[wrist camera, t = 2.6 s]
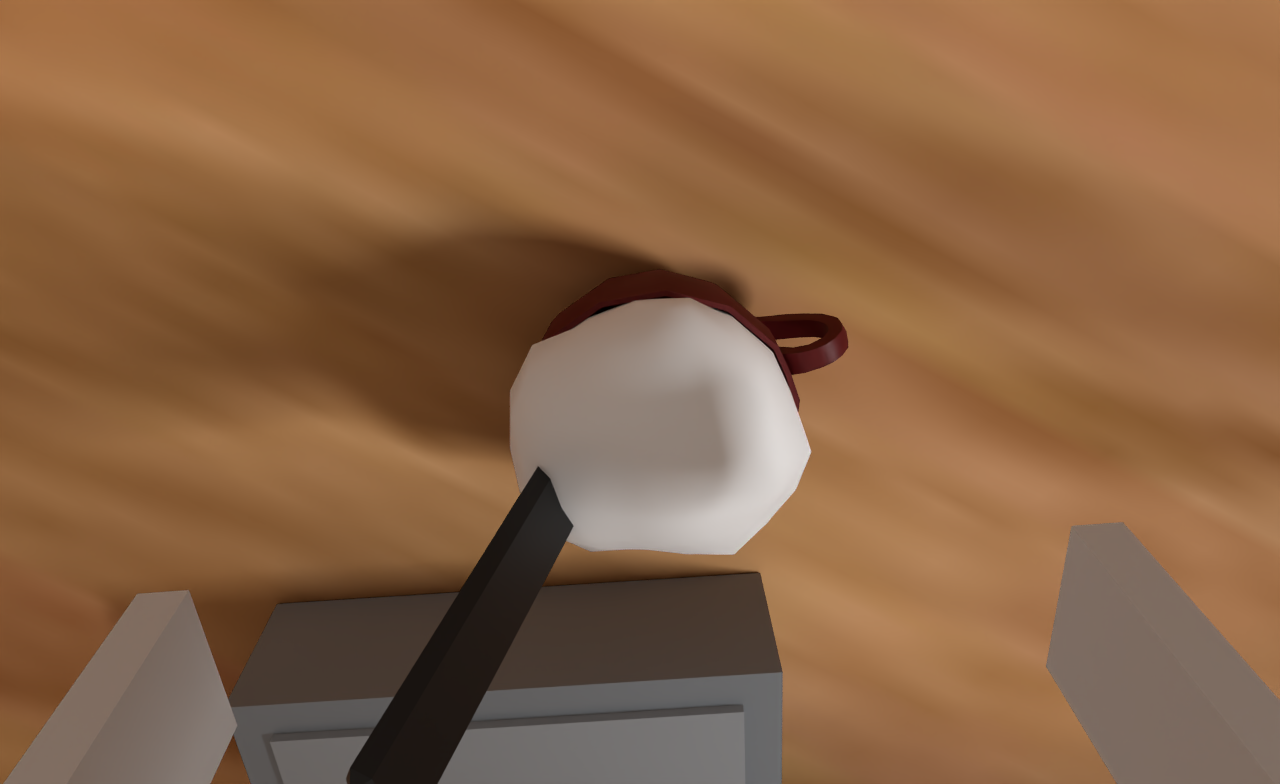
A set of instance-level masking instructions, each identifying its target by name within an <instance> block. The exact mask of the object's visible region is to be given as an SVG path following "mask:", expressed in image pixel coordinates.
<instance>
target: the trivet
mask: <svg viewBox="0 0 1280 784" xmlns="http://www.w3.org/2000/svg"><path fill="white" fill-rule="evenodd" d="M458 593H459V592H455V593H439V594H424V595H408V596H393V597H377V598H361V599H346V600H330V601H315V602H299V603H284V604H277V605H276V607H275V609H274V611H273V613H272V615H271V617H270V619H269V621H268V623H267V625H266V627H265V629H264V631H263V632H262V634H261V636H260V638H259V640H258V642H257V644H256V646H255V648H254V650H253V652H252V654H251V656H250V658H249V660H248V662H247V664H246V666H245V668H244V669H243V671H242V673H241V675H240V677H239V679H238V681H237V683H236V685H235V687H234V689H233V691H232V693H231V695H230V697H229V699H228V700H229V703H230V706H231V709H232V712H233V714H234V717H235V720H236V723H237V727H236V730H235V732H234V734H233V735H234V738H235V741H236V743H237V746H238V749H239V752H240V755H241V757H242V760H243V763H244V766H245V769H246V771H247V774H248V777H249V780H250V783H251V784H347V781H346V777H347V774H348V771H349V769H350V767H351V765H352V764H353V762H354V760H355V759H356V757H357V756H358V754H359V752H360V751H361V749H362V747H363V746H364V744H365V743H366V741H367V739H368V738H369V736H370V735H371V733H372V731H373V730H374V728H375V727H376V725H377V723H378V722H379V720H380V719H381V717H382V715H383V714H384V712H385V711H386V709H387V707H388V706H389V704H390V703H391V701H392V699H393V698H394V696H395V695H396V693H397V691H398V690H399V688H400V687H401V685H402V683H403V682H404V680H405V679H406V677H407V675H408V674H409V672H410V670H411V669H412V667H413V666H414V664H415V662H416V661H417V659H418V658H419V656H420V654H421V653H422V651H423V650H424V648H425V646H426V645H427V643H428V642H429V640H430V638H431V637H432V635H433V634H434V632H435V630H436V629H437V627H438V626H439V624H440V622H441V621H442V619H443V618H444V616H445V614H446V613H447V611H448V610H449V608H450V606H451V605H452V603H453V602H454V600H455V598H456V597H457V595H458ZM782 673H783V672H782V668H781V663H780V659H779V655H778V650H777V646H776V641H775V637H774V632H773V628H772V623H771V619H770V615H769V610H768V606H767V601H766V597H765V592H764V588H763V583H762V579H761V575H760V573H749V574H734V575H718V576H703V577H687V578H672V579H656V580H641V581H625V582H610V583H594V584H579V585H563V586H548V587H541V589H540V591H539V593H538V595H537V597H536V599H535V600H534V602H533V604H532V606H531V608H530V610H529V612H528V614H527V616H526V618H525V619H524V621H523V623H522V625H521V627H520V629H519V631H518V633H517V635H516V636H515V638H514V640H513V642H512V644H511V646H510V648H509V650H508V652H507V653H506V655H505V657H504V659H503V661H502V663H501V665H500V667H499V669H498V671H497V672H496V674H495V676H494V678H493V680H492V682H491V684H490V686H489V688H488V689H487V691H486V693H485V695H484V697H483V699H482V701H481V703H480V705H479V707H478V708H477V710H476V712H475V714H474V716H473V718H472V720H471V722H470V724H469V725H468V727H467V729H466V731H465V733H464V735H463V737H462V739H461V741H460V743H459V744H458V746H457V748H456V750H455V752H454V754H453V756H452V758H451V760H450V761H449V763H448V765H447V767H446V769H445V771H444V773H443V775H442V777H441V779H440V780H439V782H438V784H782Z"/></svg>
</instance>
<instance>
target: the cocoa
mask: <svg viewBox="0 0 1280 784" xmlns="http://www.w3.org/2000/svg"><path fill="white" fill-rule="evenodd" d="M798 337H819V338H821V339H819V340H818V341H815V342H813V343H811V344H809V345H804V346H799V347H794V348H790V347H778V345H777V343H776V340H777V339H787V338H798ZM847 348H848V338H847V333H846V330H845V328H844V327H843V325H842V323H841V322H840V320H839V319H838V318H836V317H833V316H829V315H825V314H784V315H775V316H764V317H755V316H753V315H752V314H751V313H750V312H749V311H747V310H746V309H745V308H744V307H743V306H742V305H740V304H739V303H738V302H737V301H736V300H734V299H733V298H732V297H731V296H730V295H728V294H727V293H726V292H725V291H724V290H723V289H721V288H720V287H719V286H718V285H716V284H714V283H711V282H708V281H705V280H701V279H697V278H693V277H689V276H685V275H681V274H677V273H673V272H669V271H665V270H661V269H658V270H652V271H647V272H641V273H636V274H630V275H625V276H619V277H614V278H609V279H607V280H606V281H604V282H603V283H602V284H600V285H599V286H597V287H596V288H595V289H593V290H592V291H590V292H589V293H587V294H586V295H585V296H583V297H582V298H580V299H579V300H578V301H576V302H575V303H573V304H572V305H571V306H569V307H568V308H566V309H565V310H564V311H562V312H561V313H559V314H558V315H557V317H556V318H555V319H554V320H553V321H552V322H551V324H550V326H549V328H548V330H547V332H546V334H545V335H544V337H543V339H542V341H541V342H538V343H536V344H533V345H532V346H531V348H530V350H529V353H528V355H527V357H526V359H525V361H524V363H523V365H522V367H521V369H520V371H519V373H518V375H517V377H516V379H515V381H514V383H513V386H512V388H511V390H510V450H511V455H512V459H513V464H514V468H515V473H516V477H517V482H518V486H519V491H520V493H521V494H520V496H519V497H518V499H517V500H516V502H515V504H514V505H513V507H512V508H511V510H510V512H509V513H508V515H507V516H506V518H505V520H504V521H503V523H502V525H501V526H500V528H499V529H498V531H497V533H496V534H495V536H494V537H493V539H492V541H491V542H490V544H489V545H488V547H487V549H486V550H485V552H484V553H483V555H482V557H481V558H480V560H479V561H478V563H477V565H476V566H475V568H474V569H473V571H472V573H471V574H470V576H469V577H468V579H467V581H466V582H465V584H464V585H463V587H462V589H461V590H460V592H459V593H458V595H457V597H456V598H455V600H454V602H453V603H452V605H451V606H450V608H449V610H448V611H447V613H446V614H445V616H444V618H443V619H442V621H441V622H440V624H439V626H438V627H437V629H436V630H435V632H434V634H433V635H432V637H431V638H430V640H429V642H428V643H427V645H426V646H425V648H424V650H423V651H422V653H421V654H420V656H419V658H418V659H417V661H416V662H415V664H414V666H413V667H412V669H411V670H410V672H409V674H408V675H407V677H406V679H405V680H404V682H403V683H402V685H401V687H400V688H399V690H398V691H397V693H396V695H395V696H394V698H393V699H392V701H391V703H390V704H389V706H388V707H387V709H386V711H385V712H384V714H383V715H382V717H381V719H380V720H379V722H378V723H377V725H376V727H375V728H374V730H373V731H372V733H371V735H370V736H369V738H368V739H367V741H366V743H365V744H364V746H363V747H362V749H361V751H360V752H359V754H358V756H357V757H356V759H355V760H354V762H353V764H352V765H351V767H350V769H349V771H348V774H347V777H346V781H347V784H438V782H439V780H440V779H441V777H442V775H443V773H444V771H445V769H446V767H447V765H448V763H449V761H450V760H451V758H452V756H453V754H454V752H455V750H456V748H457V746H458V744H459V743H460V741H461V739H462V737H463V735H464V733H465V731H466V729H467V727H468V725H469V724H470V722H471V720H472V718H473V716H474V714H475V712H476V710H477V708H478V707H479V705H480V703H481V701H482V699H483V697H484V695H485V693H486V691H487V689H488V688H489V686H490V684H491V682H492V680H493V678H494V676H495V674H496V672H497V671H498V669H499V667H500V665H501V663H502V661H503V659H504V657H505V655H506V653H507V652H508V650H509V648H510V646H511V644H512V642H513V640H514V638H515V636H516V635H517V633H518V631H519V629H520V627H521V625H522V623H523V621H524V619H525V618H526V616H527V614H528V612H529V610H530V608H531V606H532V604H533V602H534V600H535V599H536V597H537V595H538V593H539V591H540V589H541V587H542V585H543V583H544V582H545V580H546V578H547V576H548V574H549V572H550V570H551V568H552V566H553V564H554V563H555V561H556V559H557V557H558V555H559V553H560V551H561V549H562V547H563V546H564V544H565V542H566V541H568V542H570V543H572V544H575V545H577V546H579V547H581V548H584V549H586V550H588V551H591V552H592V551H609V550H626V549H642V550H654V551H663V552H672V553H681V554H730V555H734V554H735V553H736V552H737V551H738V550H739V549H740V548H741V547H742V546H743V545H745V544H746V543H747V542H748V541H749V540H750V539H751V538H752V537H753V536H754V535H755V534H756V533H757V532H758V531H759V530H760V529H761V528H762V527H764V526H765V525H766V524H767V523H768V522H769V520H770V519H771V517H772V516H773V515H774V514H775V513H776V512H777V511H778V509H779V508H780V507H781V506H782V505H783V504H784V503H785V501H786V500H787V499H788V498H789V497H790V496H791V495H792V493H793V492H794V491H795V490H796V488H797V486H798V483H799V481H800V478H801V476H802V473H803V471H804V468H805V466H806V463H807V461H808V459H809V456H810V454H811V450H810V447H809V444H808V440H807V437H806V434H805V431H804V428H803V425H802V422H801V420H800V417H799V414H798V410H799V403H800V399H799V396H798V393H797V390H796V387H795V385H794V382H793V379H792V376H791V375H794V374H800V373H806V372H809V371H812V370H815V369H818V368H821V367H824V366H826V365H828V364H830V363H833V362H834V361H836V360H837V359H838V358H840V357H841V356H842V355H843V354H844V352H845V351H846V350H847Z"/></svg>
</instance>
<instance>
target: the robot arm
mask: <svg viewBox="0 0 1280 784" xmlns="http://www.w3.org/2000/svg"><path fill="white" fill-rule="evenodd" d="M1046 667H1047V669H1048V670H1049V672H1050V674H1051V675H1052V677H1053V679H1054V680H1055V682H1056V684H1057V685H1058V687H1059V689H1060V690H1061V692H1062V693H1063V695H1064V697H1065V698H1066V700H1067V702H1068V703H1069V705H1070V707H1071V708H1072V710H1073V712H1074V713H1075V715H1076V717H1077V718H1078V720H1079V722H1080V723H1081V725H1082V727H1083V728H1084V730H1085V732H1086V733H1087V735H1088V737H1089V738H1090V740H1091V742H1092V743H1093V745H1094V747H1095V748H1096V750H1097V752H1098V753H1099V755H1100V757H1101V758H1102V760H1103V762H1104V763H1105V765H1106V767H1107V768H1108V770H1109V771H1110V773H1111V775H1112V776H1113V778H1114V780H1115V781H1116V783H1117V784H1280V700H1279V699H1278V698H1277V697H1276V696H1275V695H1274V693H1273V692H1272V691H1271V690H1270V689H1269V688H1268V687H1267V686H1266V684H1265V683H1264V682H1263V681H1262V680H1261V679H1260V678H1259V676H1258V675H1257V674H1256V673H1255V672H1254V671H1253V670H1252V668H1251V667H1250V666H1249V665H1248V664H1247V663H1246V662H1245V661H1244V659H1243V658H1242V657H1241V656H1240V655H1239V654H1238V653H1237V651H1236V650H1235V649H1234V648H1233V647H1232V646H1231V645H1230V643H1229V642H1228V641H1227V640H1226V639H1225V638H1224V637H1223V635H1222V634H1221V633H1220V632H1219V631H1218V630H1217V629H1216V628H1215V626H1214V625H1213V624H1212V623H1211V622H1210V621H1209V620H1208V618H1207V617H1206V616H1205V615H1204V614H1203V613H1202V612H1201V610H1200V609H1199V608H1198V607H1197V606H1196V605H1195V604H1194V603H1193V601H1192V600H1191V599H1190V598H1189V597H1188V596H1187V595H1186V593H1185V592H1184V591H1183V590H1182V589H1181V588H1180V587H1179V585H1178V584H1177V583H1176V582H1175V581H1174V580H1173V579H1172V578H1171V576H1170V575H1169V574H1168V573H1167V572H1166V571H1165V570H1164V568H1163V567H1162V566H1161V565H1160V564H1159V563H1158V562H1157V560H1156V559H1155V558H1154V557H1153V556H1152V555H1151V554H1150V553H1149V551H1148V550H1147V549H1146V548H1145V547H1144V546H1143V545H1142V543H1141V542H1140V541H1139V540H1138V539H1137V538H1136V537H1135V535H1134V534H1133V533H1132V532H1131V531H1130V530H1129V529H1128V528H1127V526H1126V525H1125V524H1124V523H1123V522H1120V523H1106V524H1092V525H1078V526H1071V532H1070V537H1069V543H1068V548H1067V554H1066V559H1065V565H1064V570H1063V576H1062V581H1061V587H1060V592H1059V598H1058V603H1057V609H1056V614H1055V620H1054V626H1053V631H1052V637H1051V642H1050V648H1049V653H1048V659H1047V664H1046ZM236 727H237V723H236V720H235V717H234V714H233V712H232V709H231V706H230V703H229V700H228V698H227V695H226V692H225V689H224V687H223V684H222V681H221V678H220V675H219V673H218V670H217V667H216V664H215V661H214V659H213V656H212V653H211V650H210V647H209V645H208V642H207V639H206V636H205V633H204V631H203V628H202V625H201V622H200V620H199V617H198V614H197V611H196V608H195V606H194V603H193V600H192V597H191V594H190V592H189V590H182V591H169V592H155V593H141V594H137V595H136V596H135V598H134V599H133V601H132V602H131V603H130V605H129V606H128V608H127V609H126V610H125V612H124V613H123V615H122V616H121V618H120V619H119V620H118V622H117V623H116V625H115V626H114V627H113V629H112V630H111V632H110V633H109V635H108V636H107V637H106V639H105V640H104V642H103V643H102V644H101V646H100V647H99V649H98V650H97V652H96V653H95V654H94V656H93V657H92V659H91V660H90V661H89V663H88V664H87V666H86V667H85V669H84V670H83V671H82V673H81V674H80V676H79V677H78V678H77V680H76V681H75V683H74V684H73V686H72V687H71V688H70V690H69V691H68V693H67V694H66V695H65V697H64V698H63V700H62V701H61V703H60V704H59V705H58V707H57V708H56V710H55V711H54V712H53V714H52V715H51V717H50V718H49V720H48V721H47V722H46V724H45V725H44V727H43V728H42V729H41V731H40V732H39V734H38V735H37V737H36V738H35V739H34V741H33V742H32V744H31V745H30V747H29V748H28V749H27V751H26V752H25V754H24V755H23V756H22V758H21V759H20V761H19V762H18V764H17V765H16V766H15V768H14V769H13V771H12V772H11V773H10V775H9V776H8V778H7V779H6V781H5V782H4V783H3V784H211V781H212V779H213V777H214V775H215V773H216V771H217V769H218V766H219V764H220V762H221V760H222V758H223V756H224V753H225V751H226V749H227V747H228V745H229V743H230V740H231V738H232V736H233V734H234V732H235V730H236Z"/></svg>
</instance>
